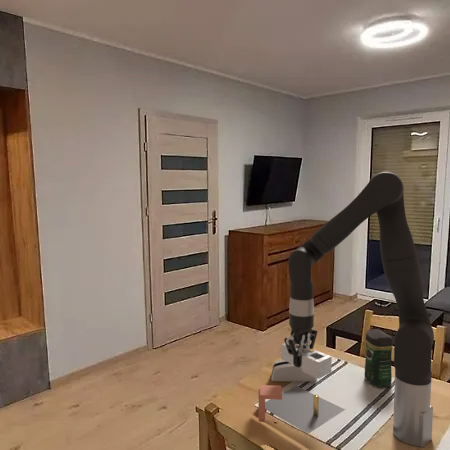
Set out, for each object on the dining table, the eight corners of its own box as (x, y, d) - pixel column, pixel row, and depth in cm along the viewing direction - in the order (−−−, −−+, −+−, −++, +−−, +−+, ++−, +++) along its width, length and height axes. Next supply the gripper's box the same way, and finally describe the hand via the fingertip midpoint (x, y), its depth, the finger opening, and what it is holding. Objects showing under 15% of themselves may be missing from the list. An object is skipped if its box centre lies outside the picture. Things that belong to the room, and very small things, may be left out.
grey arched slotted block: (314, 376, 149) (317, 356, 144) (317, 386, 144) (319, 365, 140) (270, 376, 149) (270, 355, 145) (271, 386, 145) (271, 365, 140)
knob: (319, 418, 122) (319, 396, 121) (316, 420, 121) (316, 398, 120) (315, 415, 123) (315, 394, 123) (312, 417, 122) (312, 396, 122)
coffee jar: (395, 387, 140) (397, 336, 138) (374, 389, 139) (375, 337, 137) (381, 374, 149) (382, 326, 147) (361, 376, 148) (362, 327, 146)
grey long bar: (331, 372, 121) (331, 356, 120) (318, 378, 117) (318, 362, 116) (290, 355, 133) (290, 340, 132) (277, 360, 129) (277, 345, 129)
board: (344, 411, 125) (344, 409, 125) (307, 436, 113) (308, 433, 113) (296, 388, 140) (296, 385, 140) (259, 407, 128) (259, 405, 128)
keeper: (280, 411, 126) (280, 385, 125) (281, 422, 120) (282, 395, 119) (258, 410, 127) (258, 385, 126) (258, 421, 121) (258, 395, 120)
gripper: (296, 319, 117) (295, 376, 118) (325, 309, 125) (324, 362, 127) (277, 313, 122) (276, 367, 124) (306, 304, 131) (305, 354, 133)
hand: (300, 364), depth 126 cm, fingers closed on grey long bar, 3 cm apart
